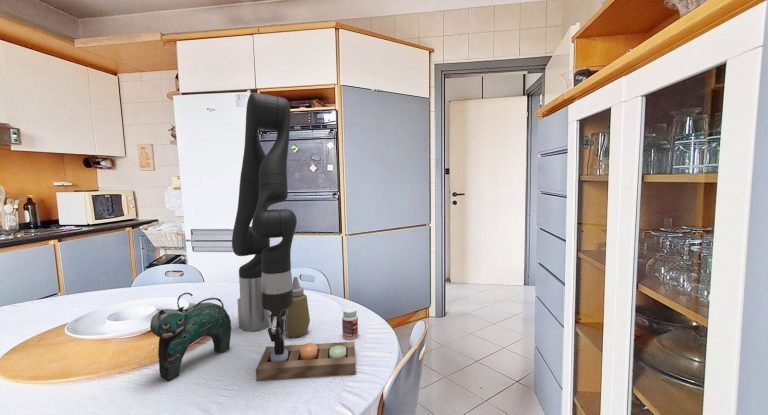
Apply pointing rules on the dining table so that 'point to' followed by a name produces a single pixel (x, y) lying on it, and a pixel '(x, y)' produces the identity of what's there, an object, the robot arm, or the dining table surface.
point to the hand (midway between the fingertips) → (279, 353)
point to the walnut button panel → (307, 363)
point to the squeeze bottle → (298, 312)
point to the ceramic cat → (188, 332)
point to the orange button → (308, 351)
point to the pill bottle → (350, 323)
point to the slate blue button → (279, 356)
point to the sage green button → (337, 352)
